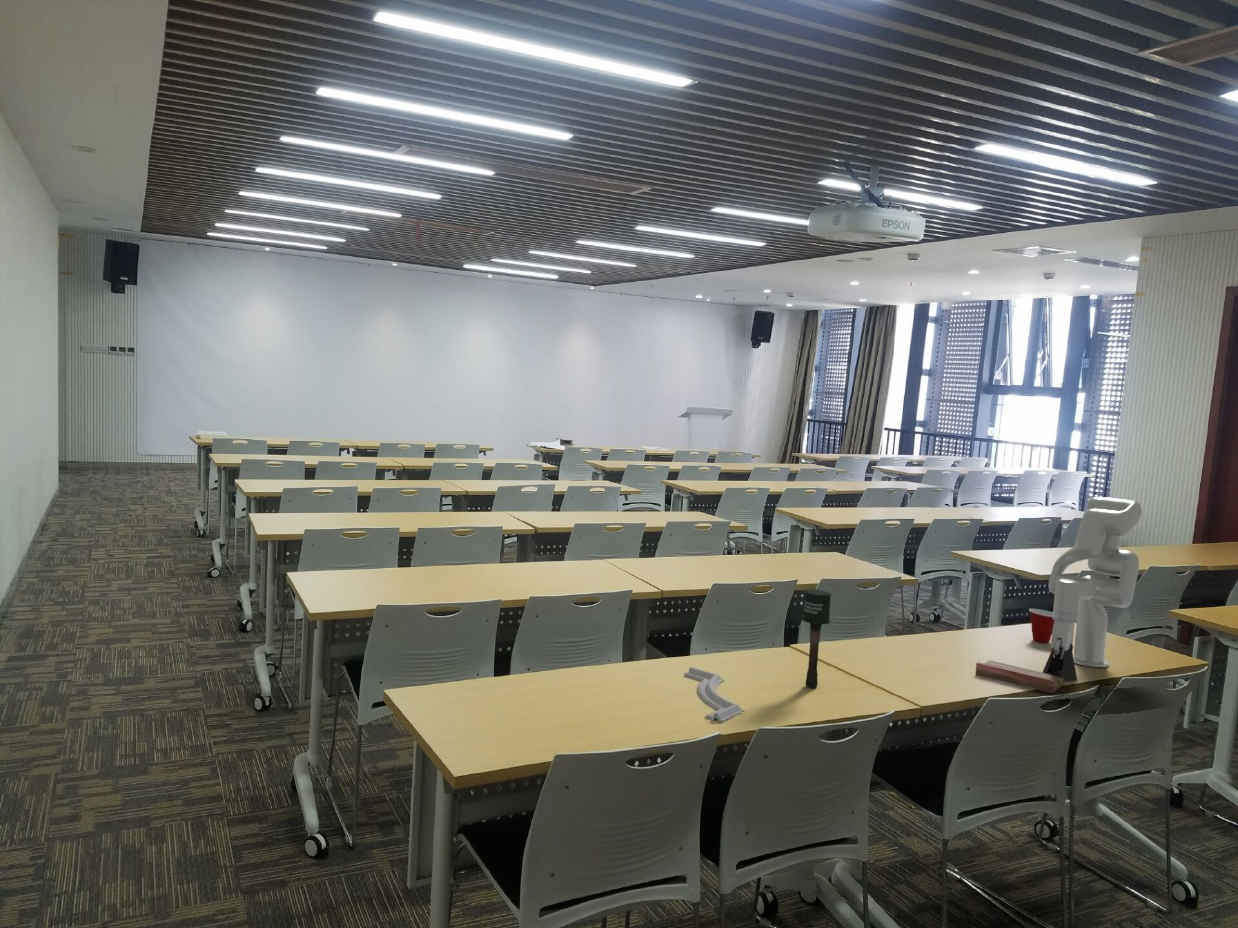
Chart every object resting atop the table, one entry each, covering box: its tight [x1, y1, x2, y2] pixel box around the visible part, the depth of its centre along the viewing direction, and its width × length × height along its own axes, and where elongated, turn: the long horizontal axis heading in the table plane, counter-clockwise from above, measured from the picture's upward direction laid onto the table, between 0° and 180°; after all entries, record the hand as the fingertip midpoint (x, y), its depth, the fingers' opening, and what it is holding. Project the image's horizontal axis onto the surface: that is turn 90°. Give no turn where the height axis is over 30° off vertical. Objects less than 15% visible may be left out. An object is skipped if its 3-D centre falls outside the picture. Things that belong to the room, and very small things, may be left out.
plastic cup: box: [1028, 608, 1055, 645], centre depth 337 cm, size 11×11×12 cm
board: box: [975, 660, 1065, 694], centre depth 288 cm, size 14×24×4 cm, turn 50°
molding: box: [683, 666, 745, 724], centre depth 257 cm, size 42×12×3 cm, turn 6°
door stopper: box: [1042, 643, 1078, 682], centre depth 293 cm, size 9×6×12 cm, turn 17°
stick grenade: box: [801, 589, 832, 689], centre depth 268 cm, size 8×9×30 cm
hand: (1060, 666), depth 293 cm, fingers open, 7 cm apart
